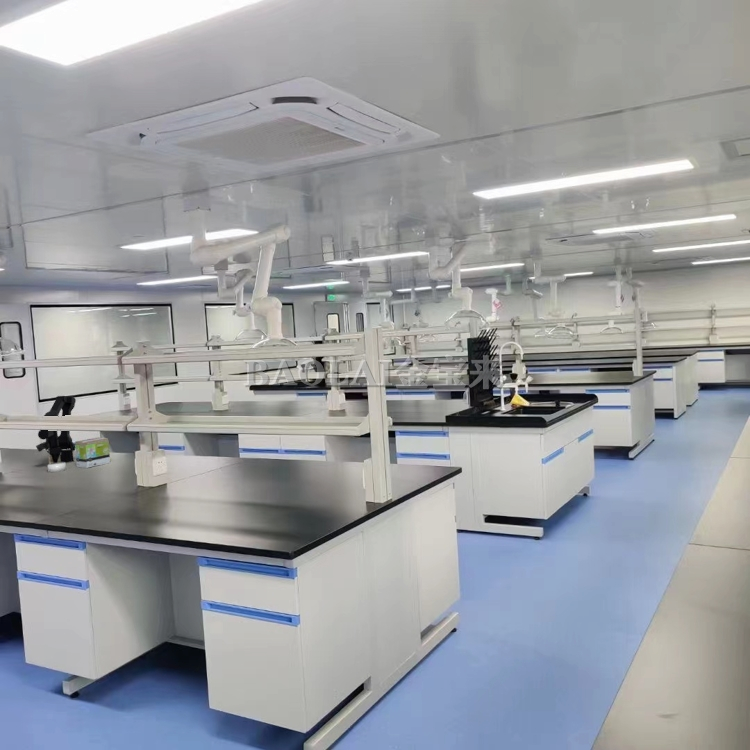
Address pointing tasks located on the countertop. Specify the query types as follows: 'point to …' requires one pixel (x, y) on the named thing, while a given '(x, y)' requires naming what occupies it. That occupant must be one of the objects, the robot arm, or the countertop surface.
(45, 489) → the countertop surface
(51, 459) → the birch block
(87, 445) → the tea box
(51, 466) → the ceramic puck
